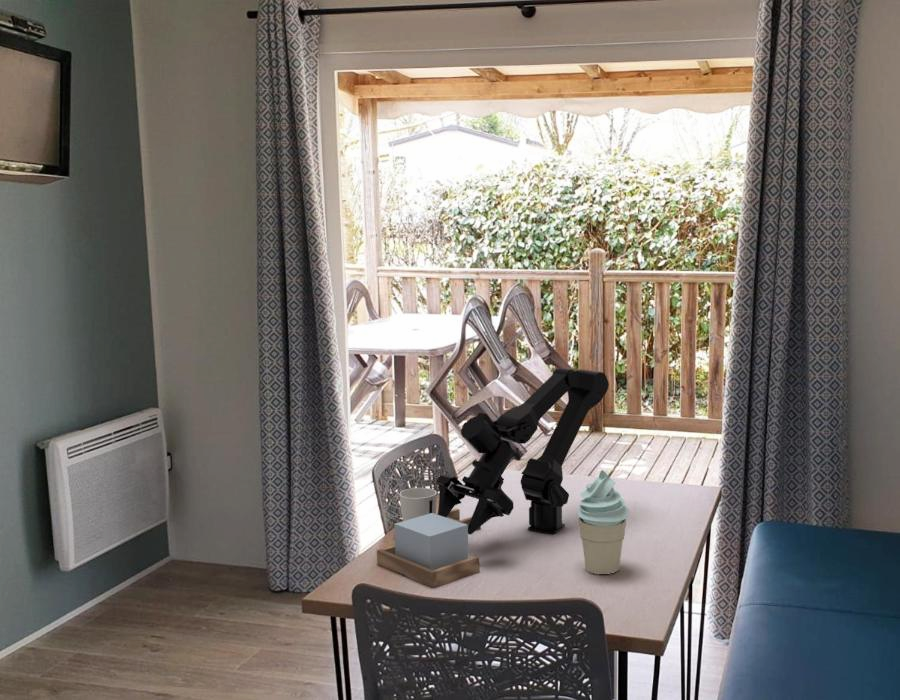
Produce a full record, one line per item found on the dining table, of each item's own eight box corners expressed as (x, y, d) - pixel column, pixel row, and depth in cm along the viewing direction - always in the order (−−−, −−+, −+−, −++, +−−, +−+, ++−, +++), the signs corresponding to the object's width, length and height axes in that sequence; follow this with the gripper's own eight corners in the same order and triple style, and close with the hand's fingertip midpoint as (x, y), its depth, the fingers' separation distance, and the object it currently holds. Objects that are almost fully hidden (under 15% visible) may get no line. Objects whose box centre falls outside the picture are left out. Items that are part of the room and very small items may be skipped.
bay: (423, 549, 211) (423, 536, 211) (479, 571, 198) (479, 557, 198) (377, 564, 203) (376, 550, 203) (432, 588, 190) (432, 573, 190)
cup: (433, 544, 215) (432, 499, 213) (396, 542, 216) (395, 497, 215) (441, 531, 222) (440, 488, 221) (405, 530, 224) (404, 487, 223)
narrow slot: (456, 521, 230) (456, 508, 229) (480, 529, 224) (480, 516, 223) (435, 527, 225) (435, 514, 225) (458, 535, 219) (458, 522, 219)
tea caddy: (434, 552, 210) (433, 511, 209) (474, 567, 201) (474, 524, 200) (389, 566, 202) (388, 524, 201) (429, 583, 193) (428, 538, 192)
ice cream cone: (581, 580, 192) (581, 479, 189) (574, 559, 203) (574, 464, 200) (634, 579, 192) (634, 478, 189) (623, 558, 203) (624, 463, 200)
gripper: (542, 495, 207) (505, 559, 202) (481, 478, 221) (445, 537, 216) (515, 465, 201) (476, 531, 195) (454, 449, 215) (415, 510, 209)
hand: (453, 528), depth 204 cm, fingers open, 9 cm apart
